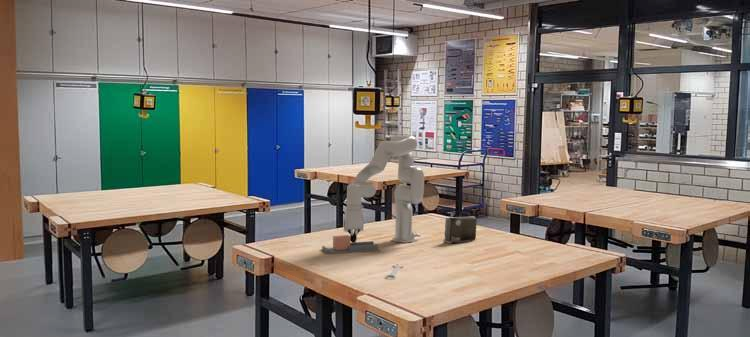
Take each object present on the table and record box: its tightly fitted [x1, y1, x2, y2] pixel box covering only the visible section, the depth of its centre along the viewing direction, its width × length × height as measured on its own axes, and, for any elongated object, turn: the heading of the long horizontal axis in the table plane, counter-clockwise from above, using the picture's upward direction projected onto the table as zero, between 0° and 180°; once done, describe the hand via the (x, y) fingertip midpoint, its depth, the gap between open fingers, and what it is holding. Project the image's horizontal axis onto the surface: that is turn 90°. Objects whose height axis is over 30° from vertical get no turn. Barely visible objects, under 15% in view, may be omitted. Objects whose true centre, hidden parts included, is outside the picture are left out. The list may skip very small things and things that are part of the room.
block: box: [332, 234, 351, 250], centre depth 305 cm, size 8×5×6 cm, turn 110°
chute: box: [321, 240, 380, 255], centre depth 307 cm, size 28×10×3 cm, turn 110°
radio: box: [442, 215, 478, 245], centre depth 333 cm, size 23×9×15 cm, turn 120°
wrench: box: [384, 263, 405, 280], centre depth 266 cm, size 25×2×5 cm
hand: (353, 242), depth 307 cm, fingers closed
